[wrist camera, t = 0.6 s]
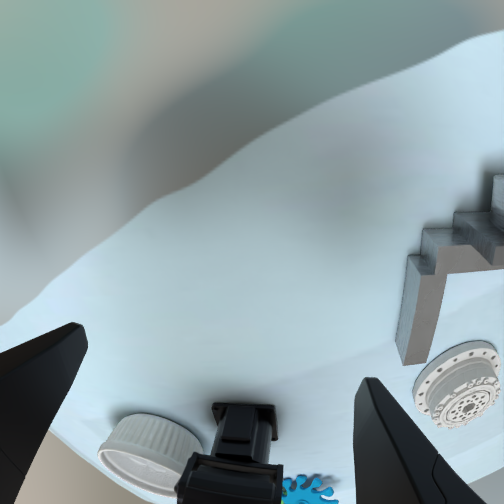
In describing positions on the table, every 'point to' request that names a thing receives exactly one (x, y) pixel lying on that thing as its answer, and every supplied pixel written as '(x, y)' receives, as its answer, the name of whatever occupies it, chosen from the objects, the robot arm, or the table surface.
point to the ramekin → (149, 452)
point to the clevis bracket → (447, 270)
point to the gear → (306, 493)
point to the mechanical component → (459, 384)
